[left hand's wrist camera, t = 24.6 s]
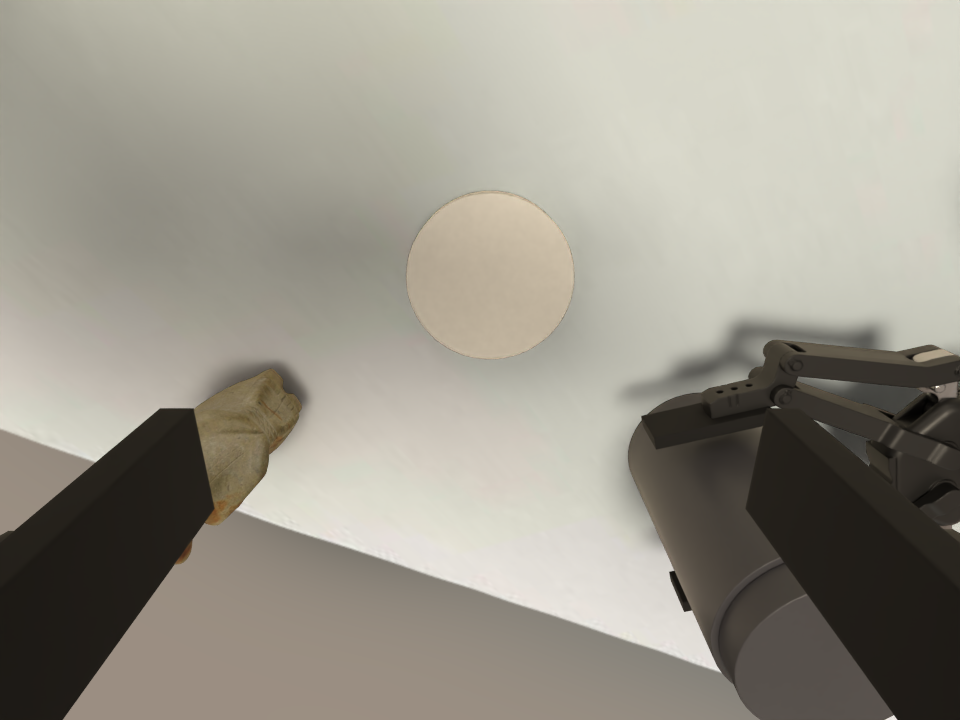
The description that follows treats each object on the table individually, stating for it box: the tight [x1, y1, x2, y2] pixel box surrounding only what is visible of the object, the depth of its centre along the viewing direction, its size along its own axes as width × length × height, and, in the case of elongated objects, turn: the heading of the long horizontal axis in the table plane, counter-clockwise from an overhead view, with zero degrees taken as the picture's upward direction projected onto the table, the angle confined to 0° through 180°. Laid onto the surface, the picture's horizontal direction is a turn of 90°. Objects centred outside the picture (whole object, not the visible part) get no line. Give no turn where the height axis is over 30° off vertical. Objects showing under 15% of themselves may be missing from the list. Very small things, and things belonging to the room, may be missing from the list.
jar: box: [628, 393, 894, 720], centre depth 31 cm, size 9×9×17 cm
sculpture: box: [175, 369, 302, 564], centre depth 31 cm, size 6×7×15 cm
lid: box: [406, 191, 574, 359], centre depth 34 cm, size 10×10×2 cm
